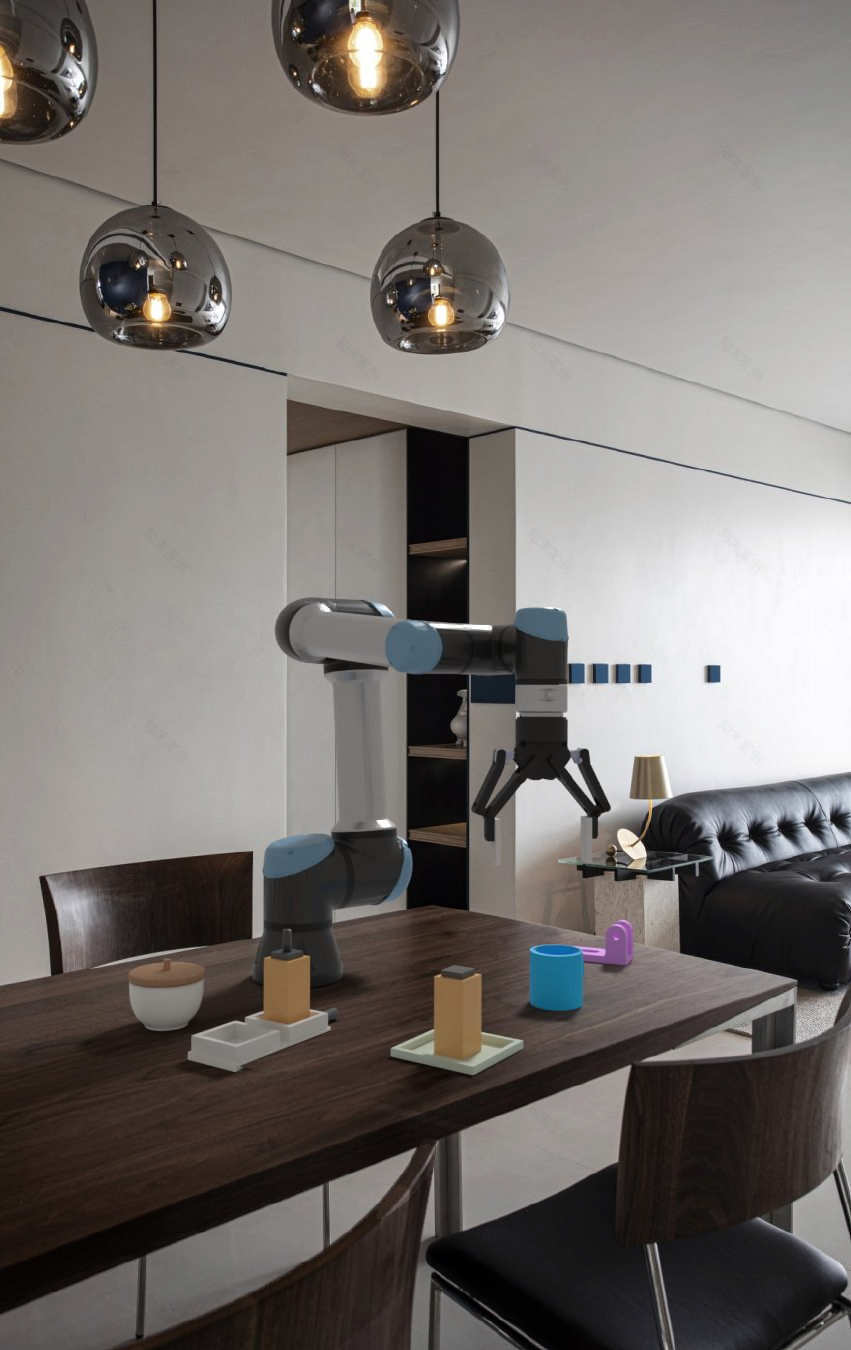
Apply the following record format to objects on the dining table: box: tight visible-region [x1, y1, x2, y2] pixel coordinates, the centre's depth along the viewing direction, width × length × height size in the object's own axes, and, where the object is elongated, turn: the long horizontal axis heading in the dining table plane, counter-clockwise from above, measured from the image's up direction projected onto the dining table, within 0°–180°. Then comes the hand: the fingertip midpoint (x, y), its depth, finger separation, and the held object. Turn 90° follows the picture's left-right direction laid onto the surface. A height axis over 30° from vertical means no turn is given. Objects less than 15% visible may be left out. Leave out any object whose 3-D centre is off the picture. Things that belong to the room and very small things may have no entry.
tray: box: [390, 1028, 524, 1076], centre depth 144 cm, size 13×13×2 cm
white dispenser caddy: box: [187, 929, 340, 1073], centre depth 151 cm, size 25×8×15 cm, turn 146°
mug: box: [529, 943, 585, 1012], centre depth 171 cm, size 12×8×8 cm
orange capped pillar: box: [433, 964, 483, 1060], centre depth 144 cm, size 4×4×11 cm
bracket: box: [573, 919, 634, 966], centre depth 199 cm, size 13×6×7 cm, turn 66°
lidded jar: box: [127, 958, 206, 1032], centre depth 158 cm, size 11×11×9 cm
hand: (541, 863), depth 158 cm, fingers open, 13 cm apart
